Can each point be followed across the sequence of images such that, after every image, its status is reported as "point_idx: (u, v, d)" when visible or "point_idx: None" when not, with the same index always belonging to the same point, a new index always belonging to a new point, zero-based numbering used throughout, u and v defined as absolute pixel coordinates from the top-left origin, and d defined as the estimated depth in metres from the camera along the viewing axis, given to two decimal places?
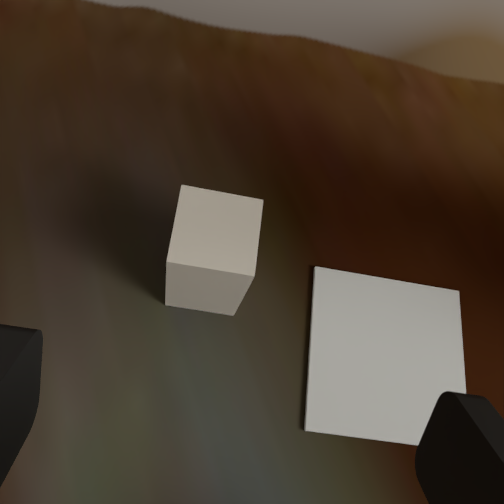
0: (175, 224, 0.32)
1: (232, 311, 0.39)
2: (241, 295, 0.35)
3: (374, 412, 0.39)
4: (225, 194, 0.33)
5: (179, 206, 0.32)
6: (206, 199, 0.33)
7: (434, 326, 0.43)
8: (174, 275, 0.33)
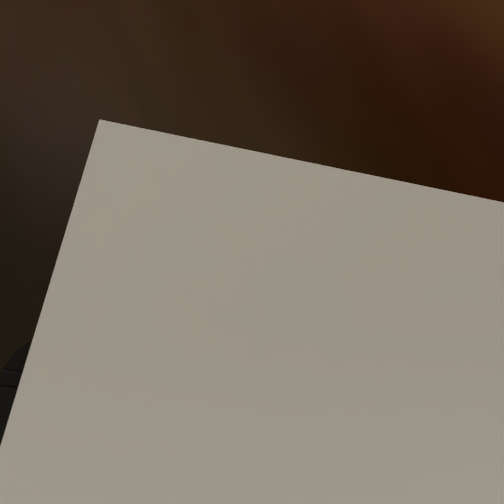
0: (33, 380, 0.04)
1: None
2: None
3: None
4: (343, 178, 0.06)
5: (75, 248, 0.05)
6: (242, 205, 0.06)
7: None
8: None
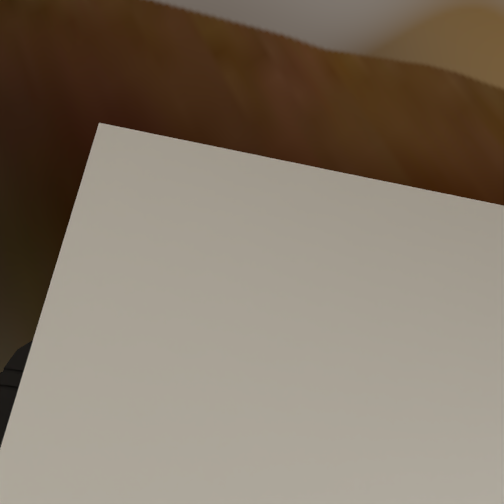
0: (32, 385, 0.04)
1: None
2: None
3: None
4: (343, 181, 0.06)
5: (74, 252, 0.05)
6: (242, 208, 0.06)
7: None
8: None
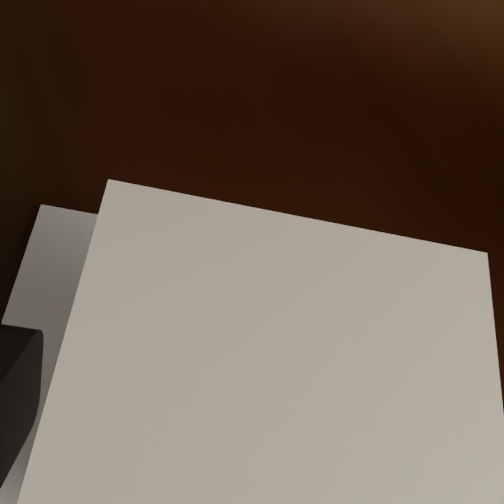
0: (54, 410, 0.05)
1: None
2: None
3: None
4: (320, 228, 0.07)
5: (88, 295, 0.06)
6: (231, 254, 0.07)
7: None
8: None
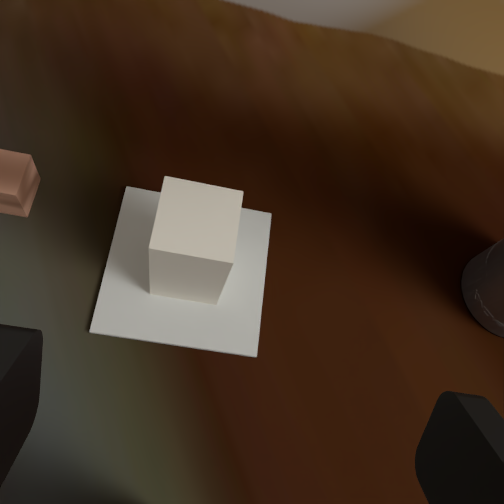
0: (158, 213, 0.33)
1: (214, 300, 0.40)
2: (222, 283, 0.36)
3: (163, 318, 0.40)
4: (207, 185, 0.35)
5: (162, 196, 0.34)
6: (188, 190, 0.34)
7: (240, 244, 0.44)
8: (157, 262, 0.34)
